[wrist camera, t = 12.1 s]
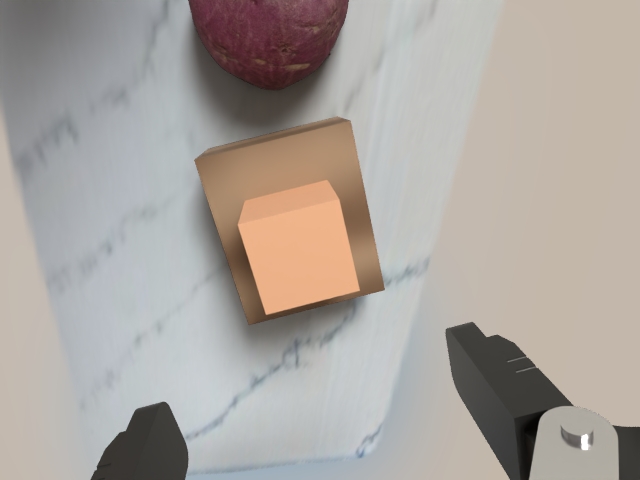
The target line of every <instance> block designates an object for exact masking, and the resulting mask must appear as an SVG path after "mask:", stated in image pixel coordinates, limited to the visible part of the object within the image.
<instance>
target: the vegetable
mask: <svg viewBox="0 0 640 480" xmlns="http://www.w3.org/2000/svg"><path fill="white" fill-rule="evenodd" d="M188 1H189V5H190V9H191V13H192V18H193V22H194V25H195V27H196V29H197V32H198V35H199V37H200V39H201V41H202V43H203V44H204V46H205V47H206V49H207V50H208V52H209V53H210V55H211V56H212V57H213V59H214V60H215V61H216V62H217V63H218V64H219V65H220V66H221V67H222V68H223V69H224V70H226V71H227V72H229V73H230V74H232V75H234V76H236V77H239V78H241V79H242V80H244V81H246V82H248V83H250V84H252V85H255V86H257V87H260V88H263V89H268V90H278V89H282V88H285V87H287V86H289V85H291V84H293V83H295V82H297V81H299V80H302V79H303V78H305V77H307V76H308V75H309V74H311V73H312V72H314V71H315V70H316V69H317V68H318V67H319V66H320V65H321V64H322V62H323V61H324V60H325V58H326V57H327V56H329V55H330V51H331V49H332V48H333V46H334V44H335V42H336V39H337V37H338V34H339V32H340V30H341V28H342V26H343V24H344V21H345V18H346V14H347V9H348V2H349V0H188Z"/></svg>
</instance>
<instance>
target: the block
mask: <svg viewBox="0 0 640 480" xmlns="http://www.w3.org/2000/svg"><path fill="white" fill-rule="evenodd" d="M238 227H239V231H240V234H241V237H242V240H243V243H244V246H245V250H246V253H247V256H248V259H249V262H250V266H251V269H252V272H253V275H254V278H255V281H256V285H257V288H258V291H259V294H260V297H261V301H262V304H263V307H264V310H265V313H266V315H268V314H271V313H275V312H279V311H283V310H287V309H291V308H295V307H299V306H302V305H306V304H310V303H314V302H318V301H322V300H326V299H330V298H333V297H337V296H341V295H345V294H349V293H353V292H357V291H360V289H359V285H358V280H357V276H356V271H355V267H354V262H353V258H352V254H351V249H350V245H349V240H348V236H347V231H346V227H345V223H344V218H343V214H342V209H341V205H340V200H339V198H338V196H337V195H336V193H335V191H334V190H333V188H332V186H331V185H330V183H329V182H328V180H325V181H321V182H317V183H313V184H309V185H305V186H301V187H297V188H293V189H289V190H285V191H282V192H278V193H274V194H270V195H266V196H262V197H258V198H254V199H250V200H246V201H245V202H244V205H243V209H242V212H241V215H240V219H239V222H238Z"/></svg>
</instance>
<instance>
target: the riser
mask: <svg viewBox="0 0 640 480" xmlns="http://www.w3.org/2000/svg"><path fill="white" fill-rule="evenodd" d="M194 161H195V164H196V167H197V170H198V173H199V176H200V179H201V182H202V185H203V188H204V191H205V194H206V197H207V200H208V203H209V206H210V209H211V212H212V215H213V218H214V221H215V224H216V227H217V230H218V233H219V236H220V239H221V242H222V245H223V248H224V251H225V254H226V257H227V260H228V263H229V266H230V270H231V273H232V276H233V279H234V282H235V285H236V288H237V291H238V294H239V297H240V300H241V303H242V306H243V309H244V312H245V315H246V318H247V321H248V324H249V325H251V324H255V323H259V322H262V321H266V320H270V319H274V318H278V317H282V316H286V315H290V314H294V313H297V312H301V311H305V310H309V309H313V308H317V307H321V306H325V305H329V304H333V303H336V302H340V301H344V300H348V299H352V298H356V297H360V296H364V295H368V294H371V293H375V292H379V291H383V290H385V288H384V283H383V279H382V274H381V269H380V264H379V259H378V254H377V249H376V244H375V239H374V234H373V229H372V224H371V219H370V214H369V209H368V204H367V200H366V195H365V190H364V185H363V180H362V175H361V170H360V165H359V160H358V155H357V150H356V145H355V140H354V135H353V130H352V126H351V121H349V120H346V119H343V118H340V117H334V118H330V119H326V120H322V121H318V122H314V123H310V124H306V125H302V126H298V127H294V128H290V129H286V130H282V131H278V132H274V133H270V134H266V135H262V136H258V137H254V138H250V139H246V140H242V141H238V142H234V143H230V144H226V145H222V146H218V147H214V148H210V149H208V150H206V151H205V152H204V153H203V154H201V155H200V156H199V157H197V158H196V159H195V160H194ZM325 180H328V182H329V183H330V185H331V186H332V188H333V190H334V191H335V193H336V195H337V196H338V198H339V200H340V205H341V209H342V214H343V218H344V223H345V227H346V231H347V236H348V240H349V245H350V249H351V254H352V258H353V262H354V267H355V271H356V276H357V280H358V285H359V289H360V291H357V292H353V293H349V294H345V295H341V296H337V297H333V298H330V299H326V300H322V301H318V302H314V303H310V304H306V305H302V306H299V307H295V308H291V309H287V310H283V311H279V312H275V313H271V314H268V315H266V313H265V310H264V307H263V304H262V301H261V297H260V294H259V291H258V288H257V285H256V281H255V278H254V275H253V272H252V269H251V266H250V262H249V259H248V256H247V253H246V250H245V246H244V243H243V240H242V237H241V234H240V231H239V227H238V222H239V219H240V215H241V212H242V209H243V205H244V202H245V201H246V200H250V199H254V198H258V197H262V196H266V195H270V194H274V193H278V192H282V191H285V190H289V189H293V188H297V187H301V186H305V185H309V184H313V183H317V182H321V181H325Z"/></svg>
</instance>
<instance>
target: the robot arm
mask: <svg viewBox="0 0 640 480" xmlns="http://www.w3.org/2000/svg"><path fill="white" fill-rule="evenodd" d="M446 340H447V346H448V352H449V359H450V366H451V372H452V377H453V380H454V384H455V386H456V389H457V391H458V393H459V395H460V397H461V399H462V401H463V402H464V404H465V405H466V407H467V409H468V410H469V412H470V414H471V415H472V417H473V419H474V420H475V422H476V424H477V425H478V427H479V429H480V430H481V432H482V434H483V435H484V437H485V439H486V440H487V442H488V444H489V445H490V447H491V449H492V450H493V452H494V453H495V455H496V457H497V459H498V460H499V462H500V464H501V465H502V467H503V468H504V470H505V472H506V473H507V475H508V477H509V478H510V480H640V427H621V426H614V425H611V424H610V422H609V421H607V420H606V419H605V418H604V417H602V416H601V415H599V414H597V413H595V412H593V411H591V410H588V409H585V408H581V407H575V406H573V405H572V404H571V402H570V401H569V400H568V399H567V398H566V397H565V396H564V395H563V394H562V393H561V392H560V391H559V390H558V389H557V388H556V387H555V385H554V384H552V382H551V381H550V380H549V379H548V378H547V377H546V376H545V375H544V374H543V373H542V372H541V371H540V370H539V369H538V368H536V366H535V364H533V362H532V361H531V360H530V359H529V358H527V357H526V355H525V354H524V353H523V352H522V351H521V350H520V349H519V347H517V346H516V344H515V343H513V342H511V341H509V340H507V339H505V338H503V337H501V336H499V335H494V336H490V337H486V336H485V335H484V334H483V333H482V332H481V330H480V329H479V328H478V327H477V326H476V325H475V324H474V323H473V322H470V323H466V324H462V325H459V326H455V327H451V328H447V329H446ZM187 468H188V450H187V446H186V443H185V440H184V438H183V436H182V433H181V431H180V429H179V427H178V424H177V422H176V420H175V418H174V415H173V413H172V411H171V409H170V407H169V405H168V404H167V403H166V402H161V403H157V404H153V405H149V406H145V407H142V408H138V409H136V410H135V412H134V414H133V416H132V418H131V420H130V423H129V425H128V427H127V430H126V431H124V432H120V433H119V434H118V435H117V436H116V437H115V439H114V440H113V441H112V442H111V443H110V444H109V446H108V447H107V448H106V449H105V451H104V453H103V455H102V457H101V459H100V461H99V463H98V465H97V470H96V471H95V472H94V474H93V476H92V478H91V480H185V477H186V473H187Z"/></svg>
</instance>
